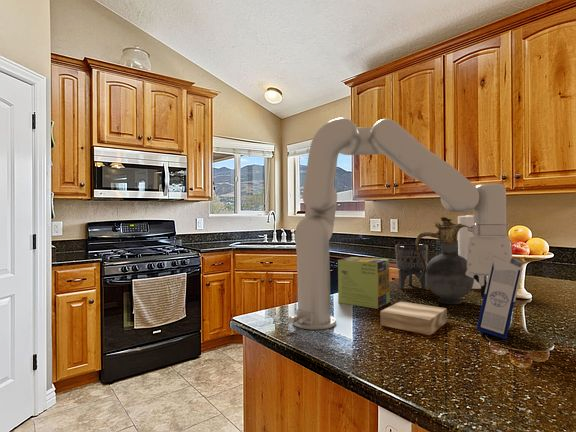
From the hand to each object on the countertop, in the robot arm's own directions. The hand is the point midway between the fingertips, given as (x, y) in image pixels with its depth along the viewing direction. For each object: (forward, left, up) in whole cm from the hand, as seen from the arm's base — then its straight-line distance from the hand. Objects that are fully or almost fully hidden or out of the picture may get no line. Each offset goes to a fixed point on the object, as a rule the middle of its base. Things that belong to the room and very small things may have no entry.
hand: (489, 300), depth 96 cm
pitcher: (+27, +20, -9) cm, 35 cm away
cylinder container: (+59, +19, -9) cm, 63 cm away
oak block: (-4, +19, -9) cm, 21 cm away
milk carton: (0, 0, -8) cm, 8 cm away
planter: (+43, +38, -9) cm, 58 cm away
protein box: (+9, +42, -9) cm, 44 cm away
